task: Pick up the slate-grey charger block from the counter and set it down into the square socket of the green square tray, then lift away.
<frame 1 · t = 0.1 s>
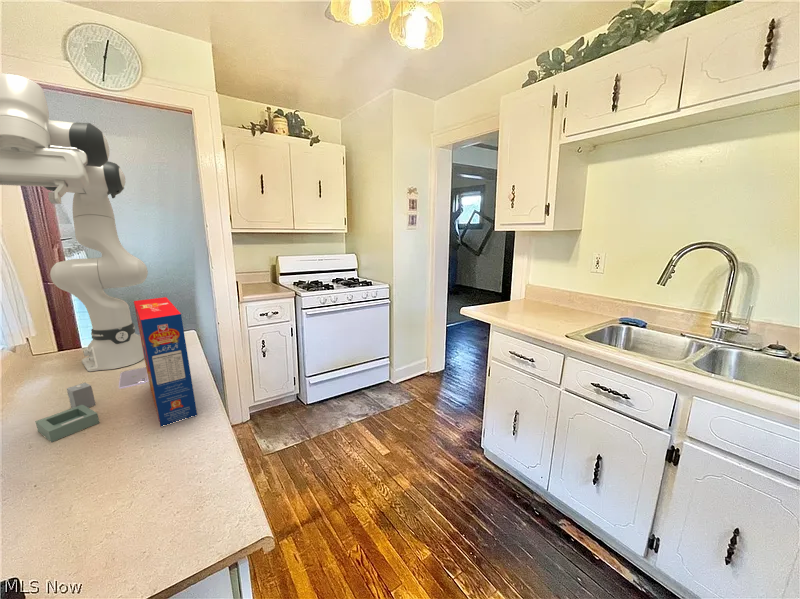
hand: (22, 201, 67), 54 cm above the worktop, tool tilted 30°, fingers open, 8 cm apart
green square tray: (69, 427, 84), on the worktop
pasta box: (171, 401, 97), on the worktop
mobile phone: (134, 379, 112), on the worktop
charger block: (83, 406, 94), on the worktop
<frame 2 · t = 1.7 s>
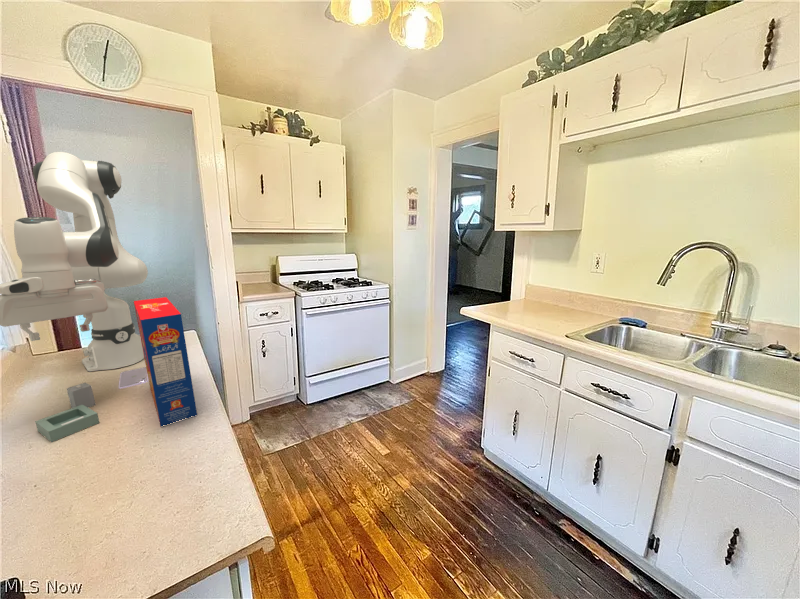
hand: (61, 335, 87), 22 cm above the worktop, tool pointing down, fingers open, 8 cm apart
nothing on the worktop moved.
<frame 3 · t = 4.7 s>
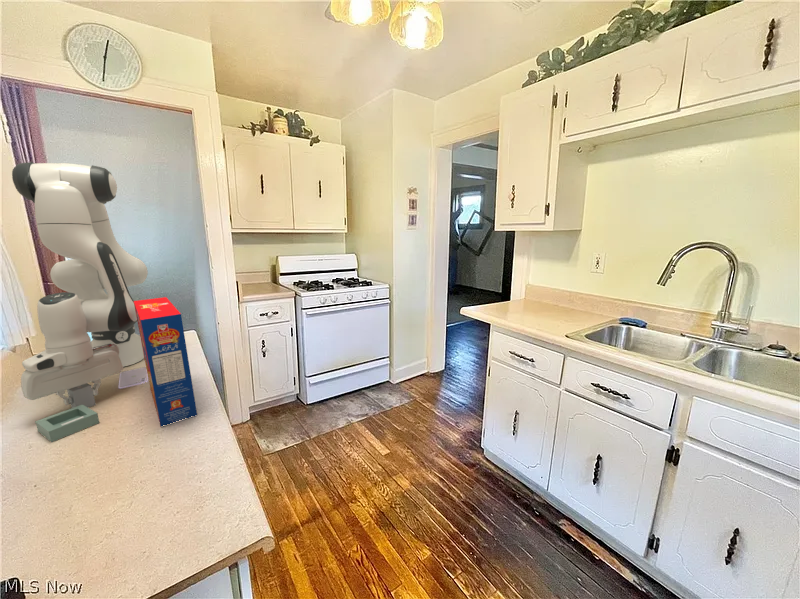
hand: (82, 399, 94), 2 cm above the worktop, tool pointing down, fingers closed on charger block, 4 cm apart
charger block: (83, 406, 94), on the worktop, touching gripper
everything else where it was.
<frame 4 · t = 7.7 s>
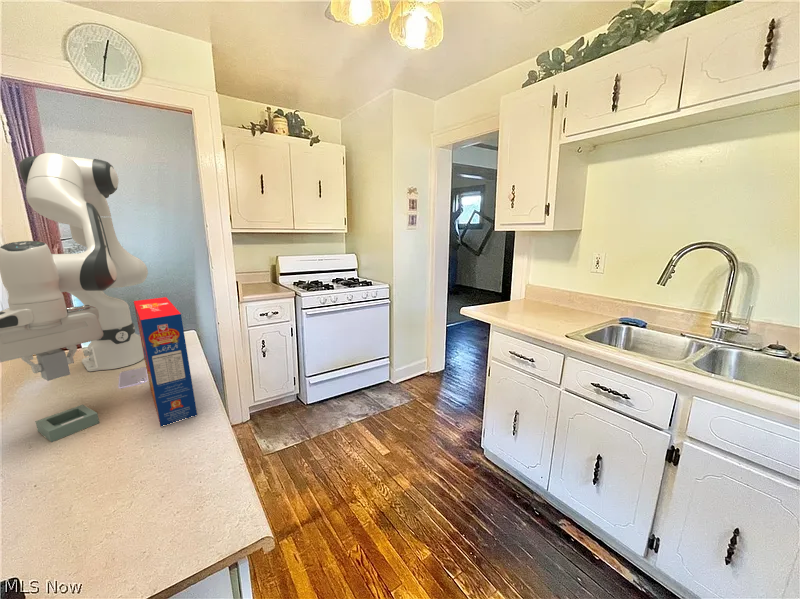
hand: (54, 367, 81), 16 cm above the worktop, tool pointing down, fingers closed on charger block, 4 cm apart
charger block: (56, 375, 81), point 14 cm above the worktop, touching gripper
everything else where it was.
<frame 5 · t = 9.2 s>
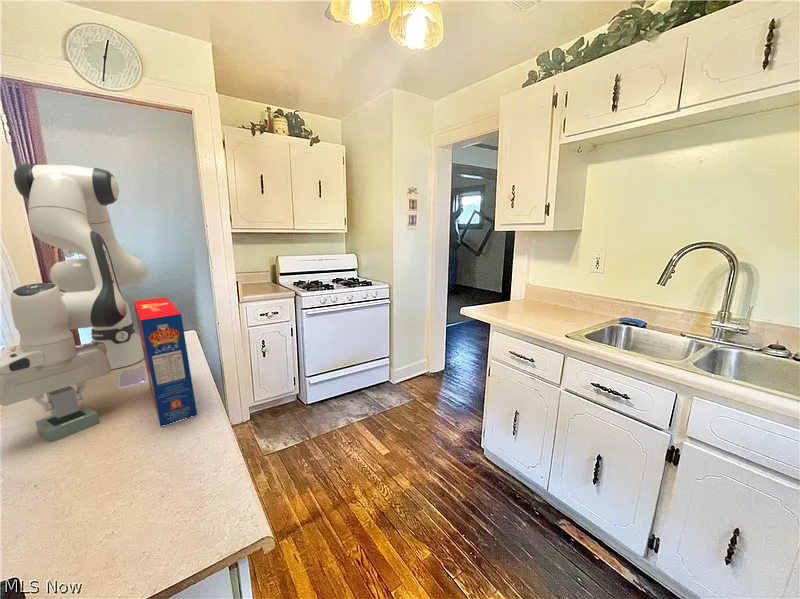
hand: (63, 404, 83), 6 cm above the worktop, tool pointing down, fingers closed on charger block, 4 cm apart
charger block: (65, 412, 83), point 4 cm above the worktop, touching gripper
everything else where it was.
when the fingers open (4 cm above the worktop, at t = 10.5 s): charger block drops 1 cm, resting on green square tray.
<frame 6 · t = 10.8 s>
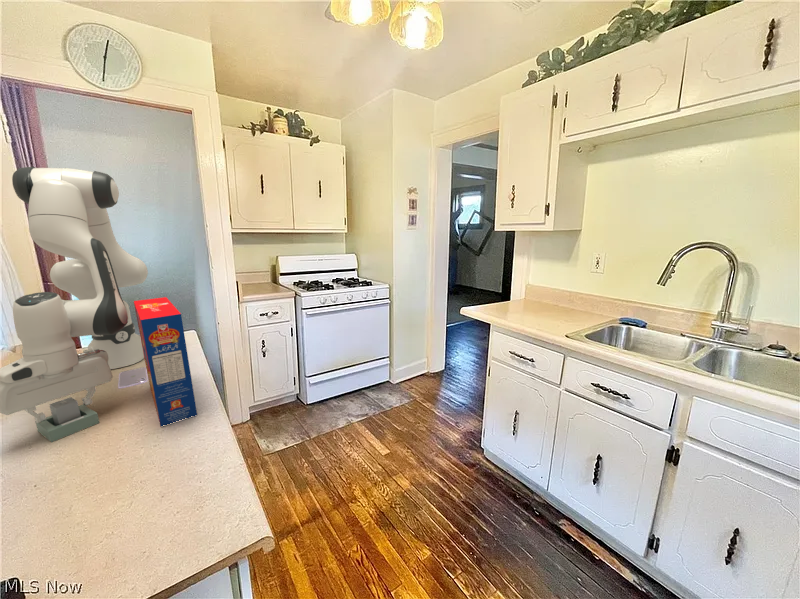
hand: (65, 412, 84), 4 cm above the worktop, tool pointing down, fingers open, 7 cm apart
charger block: (68, 424, 84), point 1 cm above the worktop, touching green square tray
everything else where it was.
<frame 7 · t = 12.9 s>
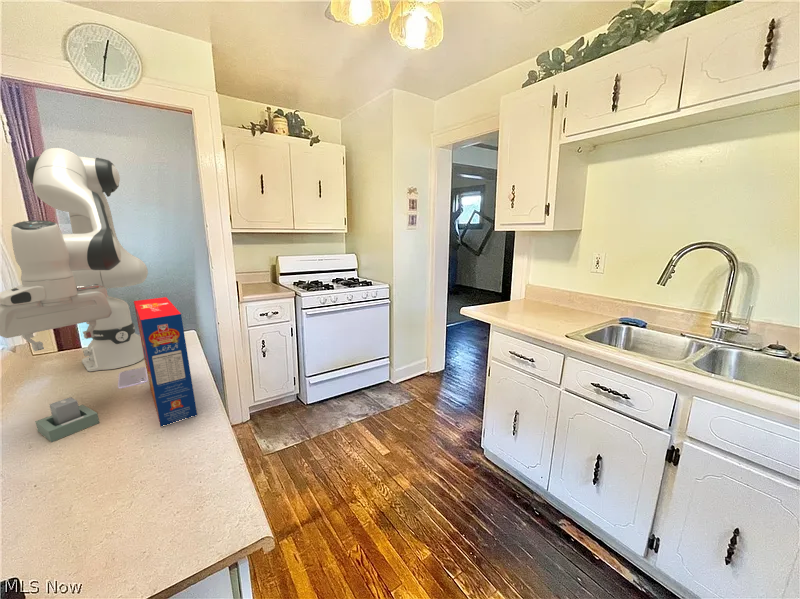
hand: (65, 343, 84), 21 cm above the worktop, tool pointing down, fingers open, 8 cm apart
nothing on the worktop moved.
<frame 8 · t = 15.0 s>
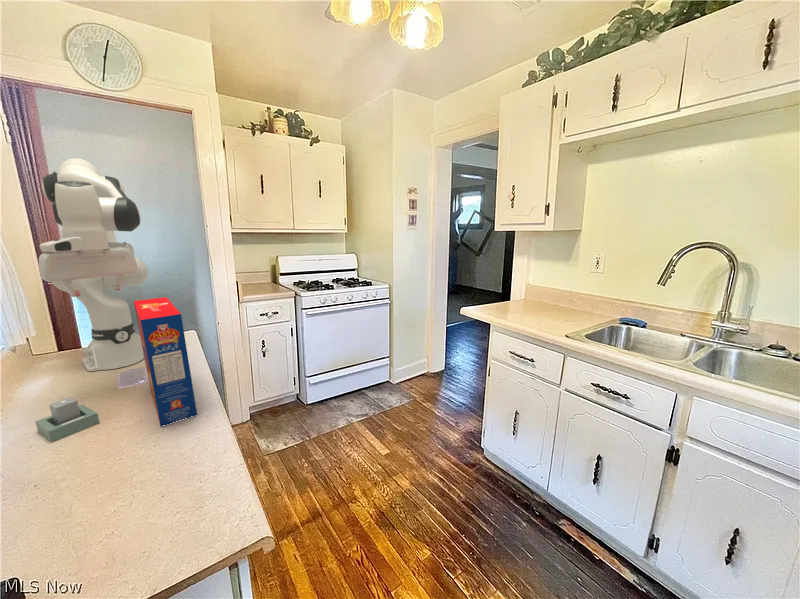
hand: (97, 293, 94), 31 cm above the worktop, tool pointing down, fingers open, 8 cm apart
nothing on the worktop moved.
at the end: charger block 0.0 cm off-centre on the green square tray, point 0.8 cm above the green square tray's base; charger block tilted 0°; the gripper is holding nothing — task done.
